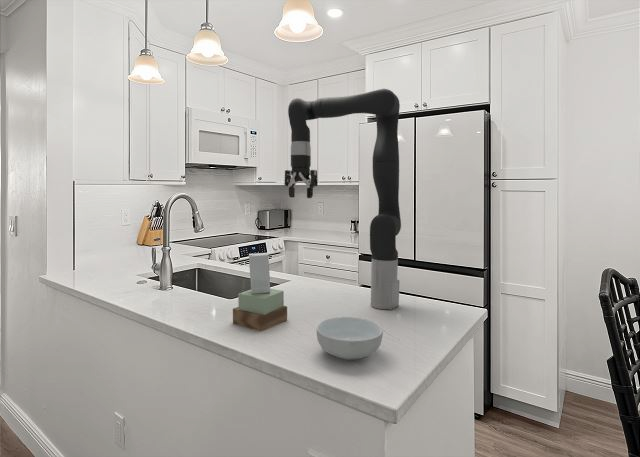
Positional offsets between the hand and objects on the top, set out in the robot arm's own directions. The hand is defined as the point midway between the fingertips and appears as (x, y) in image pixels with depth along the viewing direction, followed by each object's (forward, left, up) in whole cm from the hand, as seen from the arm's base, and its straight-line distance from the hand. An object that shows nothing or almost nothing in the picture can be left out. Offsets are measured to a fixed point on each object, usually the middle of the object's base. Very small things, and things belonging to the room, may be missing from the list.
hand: (300, 197), depth 153 cm
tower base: (-9, +31, -38) cm, 50 cm away
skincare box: (-9, +31, -29) cm, 43 cm away
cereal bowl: (-44, +34, -38) cm, 68 cm away
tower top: (-9, +31, -34) cm, 46 cm away
